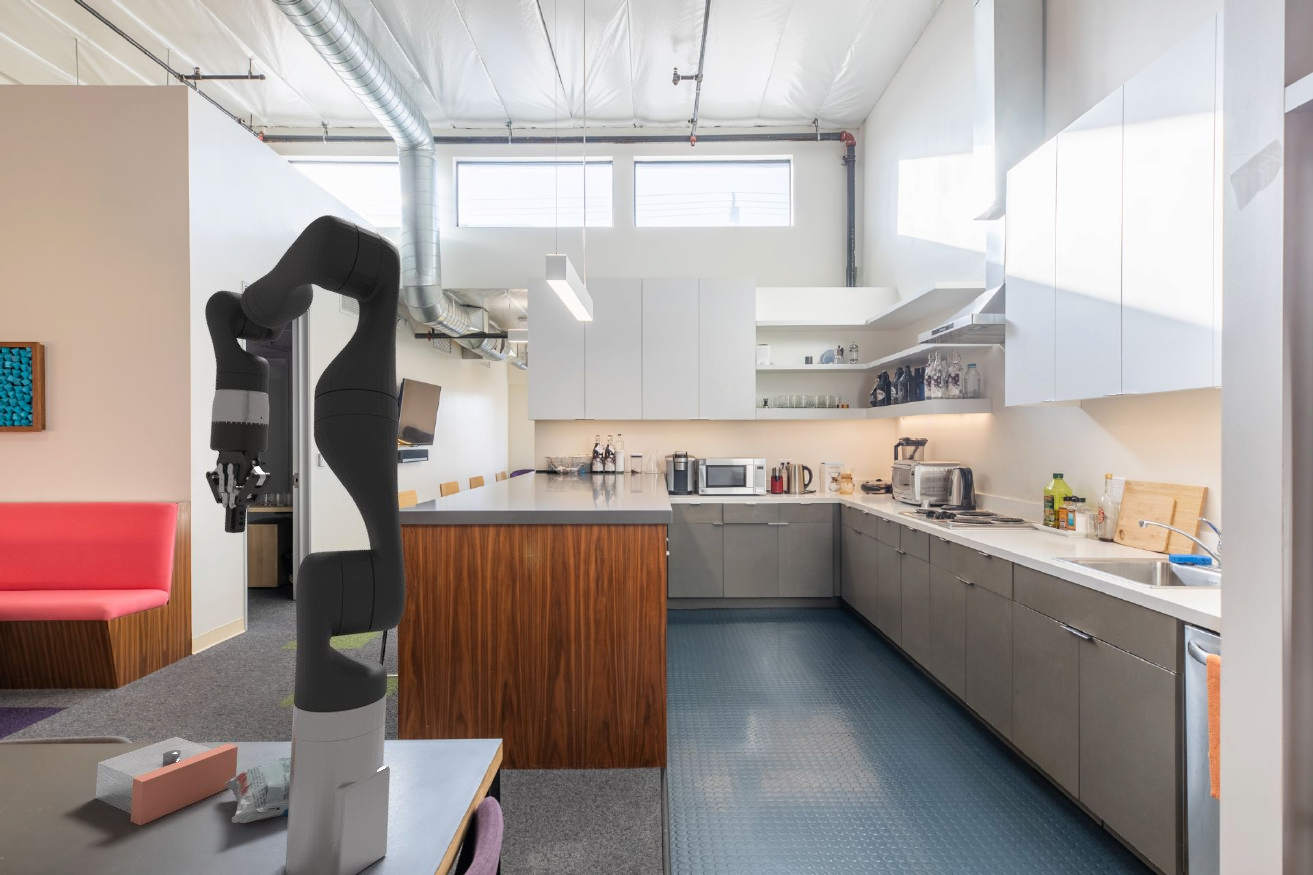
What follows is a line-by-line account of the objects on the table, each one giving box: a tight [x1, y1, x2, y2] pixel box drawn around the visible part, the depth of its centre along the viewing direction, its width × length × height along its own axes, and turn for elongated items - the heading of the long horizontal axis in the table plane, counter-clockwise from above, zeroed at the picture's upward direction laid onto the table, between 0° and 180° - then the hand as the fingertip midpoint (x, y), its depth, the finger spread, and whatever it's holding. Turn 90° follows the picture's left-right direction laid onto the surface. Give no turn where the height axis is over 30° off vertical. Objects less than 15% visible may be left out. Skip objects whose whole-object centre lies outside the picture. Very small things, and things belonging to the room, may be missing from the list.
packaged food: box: [225, 757, 291, 824], centre depth 80 cm, size 9×12×5 cm
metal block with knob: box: [95, 736, 213, 815], centre depth 83 cm, size 10×9×6 cm
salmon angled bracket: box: [130, 743, 239, 826], centre depth 83 cm, size 12×11×5 cm
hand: (234, 532), depth 99 cm, fingers closed
